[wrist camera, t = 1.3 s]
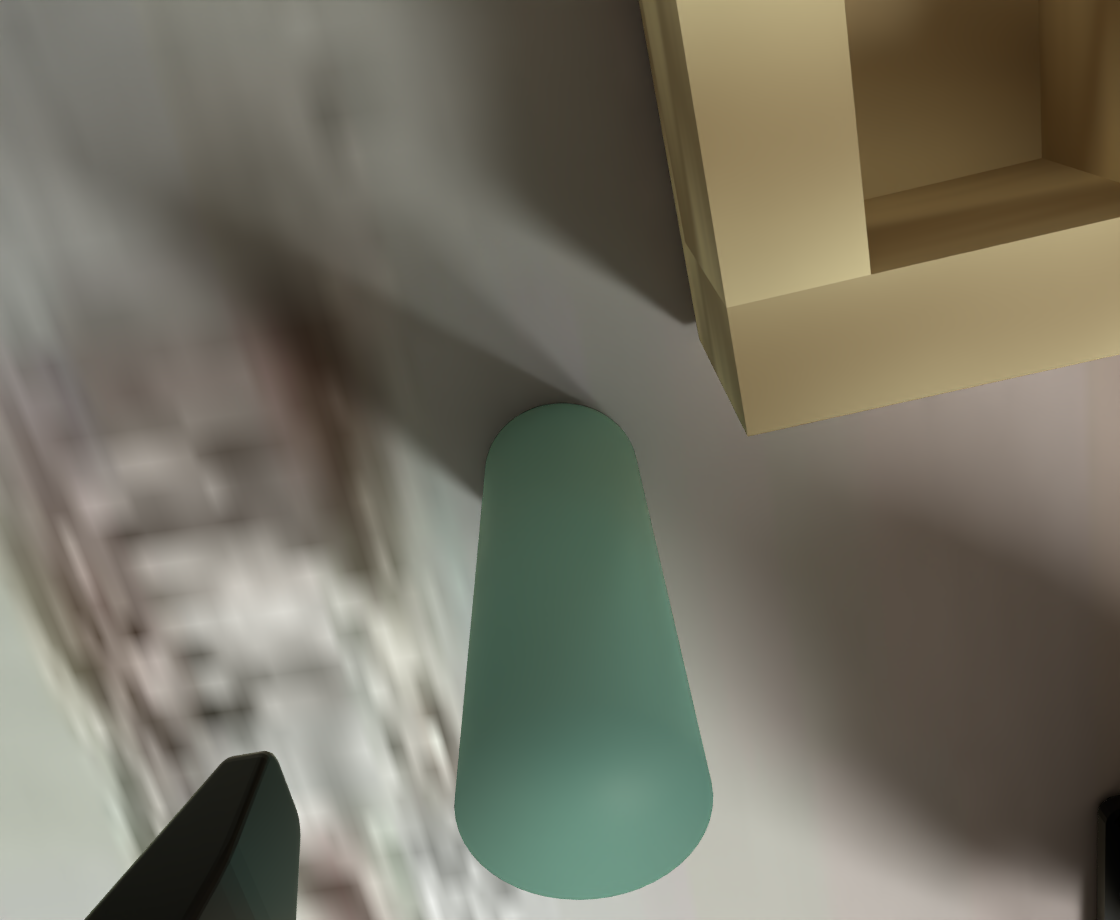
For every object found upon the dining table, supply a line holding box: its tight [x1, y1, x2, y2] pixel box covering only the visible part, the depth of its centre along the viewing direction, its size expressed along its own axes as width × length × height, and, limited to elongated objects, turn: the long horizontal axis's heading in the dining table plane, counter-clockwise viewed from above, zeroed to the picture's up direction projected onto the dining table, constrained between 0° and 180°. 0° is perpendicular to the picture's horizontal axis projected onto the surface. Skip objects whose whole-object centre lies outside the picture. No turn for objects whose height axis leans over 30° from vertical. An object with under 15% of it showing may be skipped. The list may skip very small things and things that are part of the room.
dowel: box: [454, 403, 713, 900], centre depth 18 cm, size 3×3×10 cm
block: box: [639, 0, 1120, 436], centre depth 16 cm, size 9×9×5 cm
